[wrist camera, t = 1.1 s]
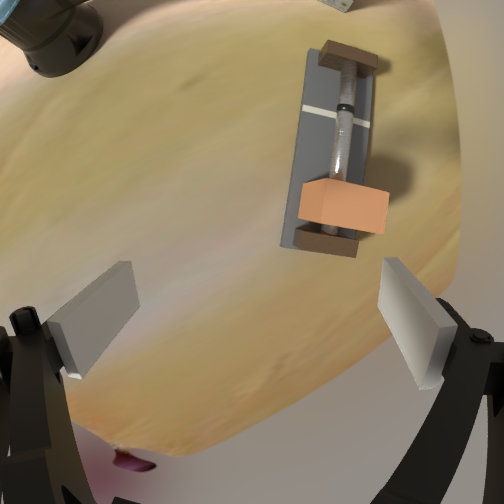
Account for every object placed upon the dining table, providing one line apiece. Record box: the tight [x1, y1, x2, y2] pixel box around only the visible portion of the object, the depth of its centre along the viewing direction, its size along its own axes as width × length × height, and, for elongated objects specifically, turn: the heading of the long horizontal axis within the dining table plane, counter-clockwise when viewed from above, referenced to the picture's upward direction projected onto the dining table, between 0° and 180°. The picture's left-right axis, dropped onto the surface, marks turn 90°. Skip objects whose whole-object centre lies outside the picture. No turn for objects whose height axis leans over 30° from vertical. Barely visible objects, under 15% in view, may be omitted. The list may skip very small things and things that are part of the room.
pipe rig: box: [292, 40, 378, 258], centre depth 41 cm, size 31×8×5 cm, turn 171°
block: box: [298, 178, 390, 235], centre depth 39 cm, size 5×8×11 cm, turn 81°
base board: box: [280, 48, 373, 257], centre depth 44 cm, size 32×11×2 cm, turn 171°
